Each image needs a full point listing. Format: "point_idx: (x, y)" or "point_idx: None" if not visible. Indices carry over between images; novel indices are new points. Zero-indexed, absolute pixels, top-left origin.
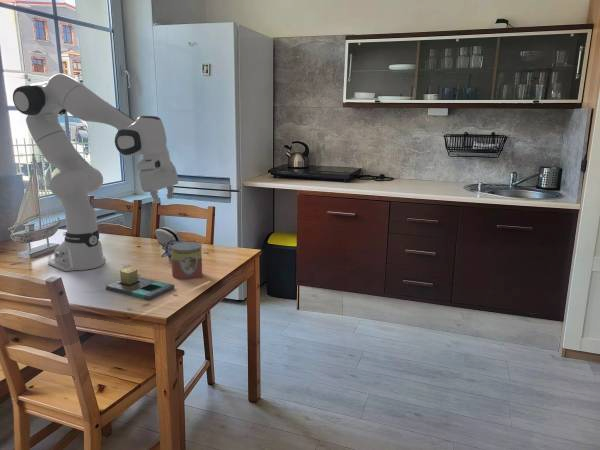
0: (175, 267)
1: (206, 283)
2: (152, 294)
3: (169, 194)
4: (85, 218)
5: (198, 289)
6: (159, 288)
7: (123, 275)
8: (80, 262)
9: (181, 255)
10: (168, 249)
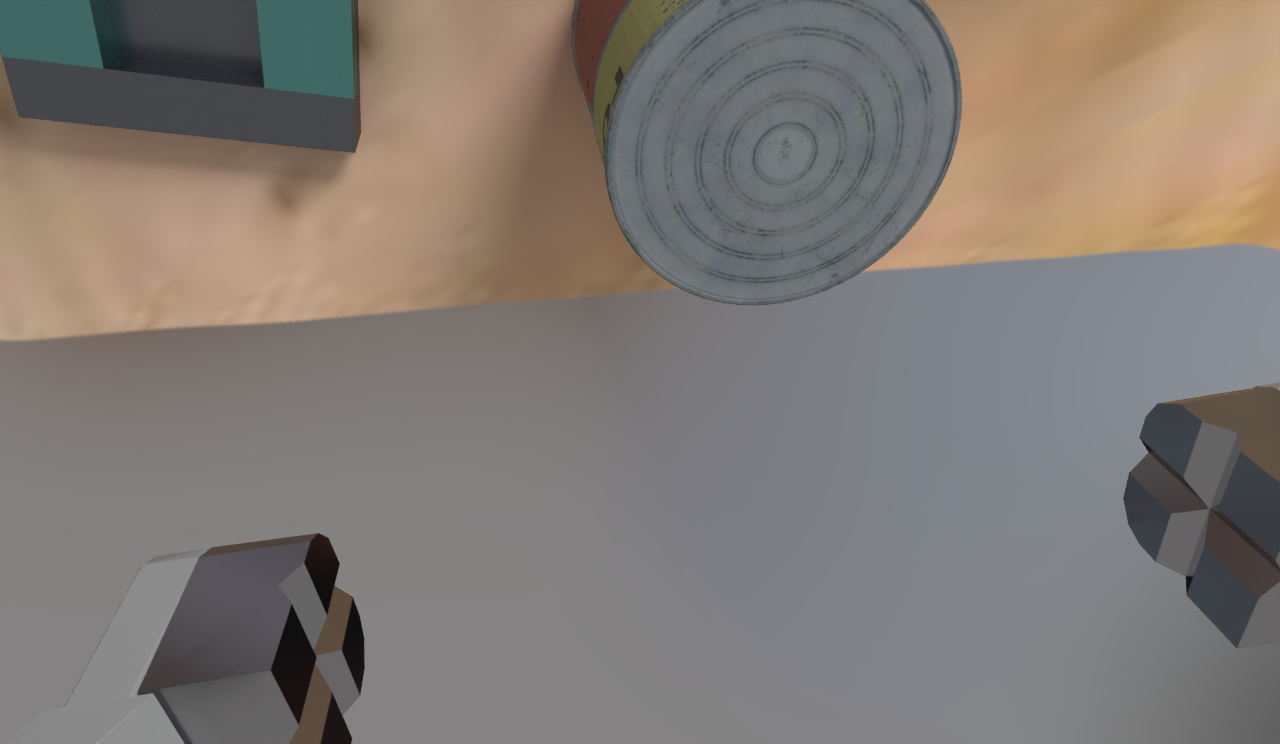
0: (592, 32)
1: (595, 262)
2: (68, 118)
3: (1246, 590)
4: None
5: (466, 274)
6: (213, 86)
7: None
8: None
9: (604, 167)
10: None
